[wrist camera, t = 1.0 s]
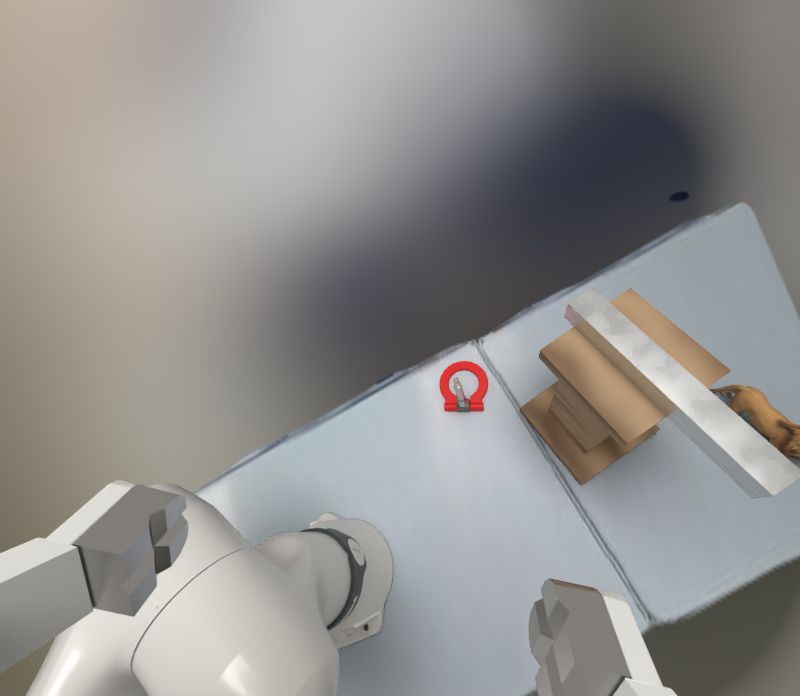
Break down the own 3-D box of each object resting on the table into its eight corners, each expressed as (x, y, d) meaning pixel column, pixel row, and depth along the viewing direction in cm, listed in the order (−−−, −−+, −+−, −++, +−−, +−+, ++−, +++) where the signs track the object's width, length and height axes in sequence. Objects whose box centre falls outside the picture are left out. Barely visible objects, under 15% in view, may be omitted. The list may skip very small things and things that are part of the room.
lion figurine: (817, 451, 53) (871, 439, 45) (791, 478, 53) (842, 470, 45) (711, 379, 60) (742, 357, 52) (688, 402, 60) (716, 383, 52)
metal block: (751, 498, 32) (773, 496, 30) (564, 317, 43) (568, 303, 40) (780, 477, 32) (804, 473, 30) (586, 301, 43) (591, 287, 40)
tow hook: (441, 364, 73) (440, 412, 69) (429, 331, 61) (427, 386, 57) (487, 362, 71) (489, 412, 67) (483, 327, 59) (485, 384, 55)
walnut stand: (580, 485, 59) (627, 459, 36) (519, 411, 65) (526, 348, 42) (655, 432, 59) (749, 372, 36) (587, 363, 66) (630, 276, 43)
